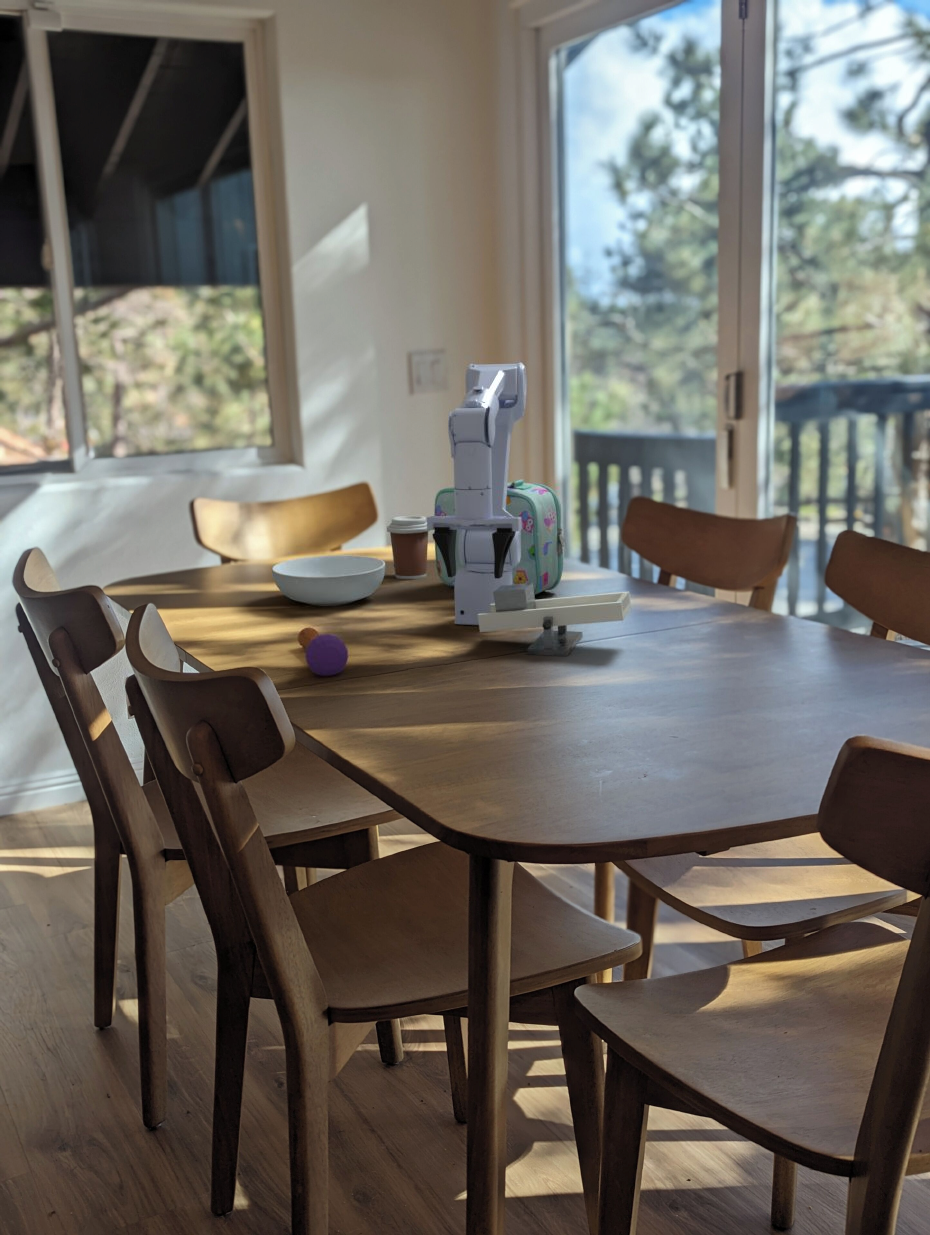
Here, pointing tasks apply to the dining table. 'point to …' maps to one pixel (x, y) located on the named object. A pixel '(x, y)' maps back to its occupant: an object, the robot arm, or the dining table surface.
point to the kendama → (323, 652)
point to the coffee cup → (409, 546)
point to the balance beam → (560, 612)
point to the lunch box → (537, 534)
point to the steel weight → (514, 597)
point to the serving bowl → (329, 578)
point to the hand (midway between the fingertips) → (475, 576)
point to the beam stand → (554, 640)
